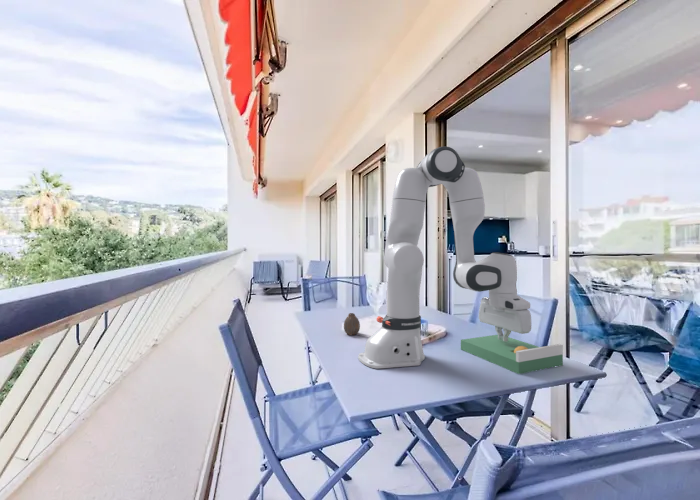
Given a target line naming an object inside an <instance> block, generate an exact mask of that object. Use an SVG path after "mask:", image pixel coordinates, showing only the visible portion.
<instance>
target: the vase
mask: <svg viewBox="0 0 700 500" xmlns="http://www.w3.org/2000/svg"><path fill="white" fill-rule="evenodd" d="M360 329H361V324H360V320H359V318H358V317H357V316H356V314H355V313H354V312H350V313H348V315H347V317H346V318H345V320H344V322H343V330H344V333H346V335H348V336H356V335H357V334H358V333H359V332H360ZM355 334H356V335H355Z"/></svg>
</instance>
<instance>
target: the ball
mask: <svg viewBox="0 0 700 500" xmlns="http://www.w3.org/2000/svg"><path fill="white" fill-rule="evenodd" d="M526 349H528V348H526V347H524V346H518V347H517V348H515V350H514V353H516V351H520V350H526Z"/></svg>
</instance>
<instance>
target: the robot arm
mask: <svg viewBox="0 0 700 500" xmlns="http://www.w3.org/2000/svg"><path fill="white" fill-rule="evenodd" d="M439 185H442V186H444V188H445V189H446V191H447V194H448V199H449V208H450V214H451V219H452V225H453V226H452V227H453V231H454V232H453V235H454V238H453V239H454V246H455V250H454V251H455V264H454V268H453V272H452V277H453V280H454V282H455V284H456V285H458V287H459V288H462V289H467V290H470V291H474V292H487V291H488V297H487V296H484V297H482V298H481V299H480V305H479V309H478V319H479V322H481V323H484V324H486V325H490V326H494V329H495V332H496V335H498V340H501V341H504V342H507V341H508V337H509V336H510V335H511V333H512V332H514V333H518V334H521V335H523V334H524V335H525V334H529V333H530V332H531V330H532V314H531V312H530V310H529V309H530V308H531V303H530V302H529V301H528V300H526V299H524V298H523V297H521V296H520V295H518V290H517V285H516V284H517V282H518V269H517V261H516V258H515V256H513V255H512V254H509V253H503V252H492V253H490V254H489V255H488V256H486V257H485V258H483V259H481V260H478V261H476V258H475V250H474V249H475V248H474V234H475V231H476V229H477V228H478V227H479V225H480V224H481V223H482V221H484V218H485V214H486V213H485V211H486V205H485V199H484V191H483V187H482V183H481V180H480V177H479V174H478V172H477V170H475V168H471V167H466V165H465V163H464V161H462V159H461V157H460V155H459V154H458V152H457V150H455V149H454V148H452V147H450V146H445V145H444V146H438V147H436V148H434V149H432V150H431V151H430V152H429V153H427V154H426V155H425V156H424V157H423V158H422V160H421V161H420V162H419V163H418V164H417V166H416V168H415V167H407V168H403V169H402V170H401V171H400V172H399V173H398V174H397V178H396V180H395V184H394V189H393V195H392V201H391V202H392V203H391V212H390V219H389V225H388V230H387V236H386V241H385V248H384V253H383V261H384V264H385V266H386V267H387V269H388V270H387V271H388V273H387V284H386V285H387V286H386V315H385V316H384V317H383V316H377V317H376V318H375V319H376V322H378V323H380V324H381V327H380V328H379V329H377V331H375V332H374V333H372V335H371V336H369V337H368V338H367V339H366V341H365V346H364V351H363V352H359V353H358V358H357V359H358V360H359V362H360V363H362V364H363V365H364V366H366V367H369V368H372V369H389V368H391V369H392V368H400V367H401V368H402V367H414V366H421V364H422V362H423V361H424V360H425V359H426V356H425V352H424V349H423V344H422V336H421V335H422V334H421V330H422V329H421V328H422V317H421V316H422V315H420V314H421V313H420V309H421V307H420V290H421V284H422V276H423V275H422V274H423V266H424V263H425V261H424V254H423V252H422V250H421V249H420V247H418V244H419V240H420V237H421V233H422V229H423V227H424V219H425V211H426V203H427V202H426V200H427V192H428V190H429V188H431V187H436V186H437V187H438V186H439Z"/></svg>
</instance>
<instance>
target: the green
mask: <svg viewBox="0 0 700 500" xmlns="http://www.w3.org/2000/svg"><path fill="white" fill-rule="evenodd" d="M563 345H564V344H562V343H558V344H557V343H556V344H552V345H551V344H550V345H546V346H545V345H544V346H538V345H535V344H531V343H528V342H525V341H522V340H520V339H519V340H518V339H516V338H512V337H509V336H508V341H507V342H504V341H501V340H498V334H493V335H485V336H479V337H470V338H465V339H460V350H461V351H462V352H463V351H464V352H466V353H468V354H471V355H473V356H475V357H478V358H480V359H482V360H485V361H487V362H489V363H491V364H492V363H493V364H494V365H495V366H499V367H501V368H504V369H505V370H509V372H513V373H515V374H517V375H521V374H522V375H523V374H527V373H532V372H537V371H541V370H540V369H542V370H546V369H545V368H547V369H551V368H550V367H553V368H556V367H555V366H558V367H563V366H564V365H563V364H564V362H563V361H564V352H563V350H564V347H563ZM518 346H524V347H526V348H528V349H526V350H520V351H516V353H514V350H515V348H517V347H518ZM536 370H537V371H536Z"/></svg>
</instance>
